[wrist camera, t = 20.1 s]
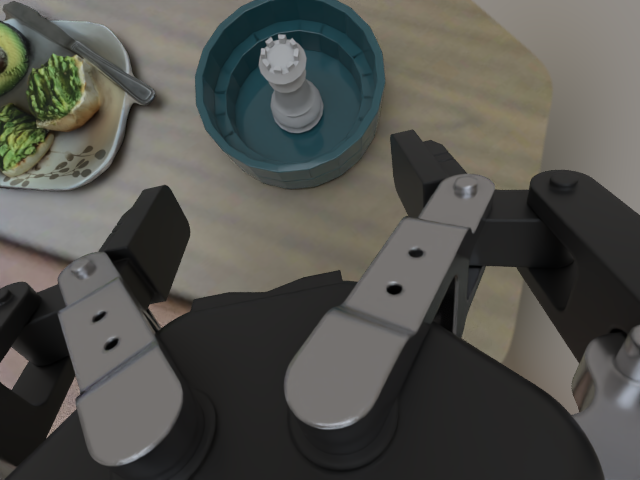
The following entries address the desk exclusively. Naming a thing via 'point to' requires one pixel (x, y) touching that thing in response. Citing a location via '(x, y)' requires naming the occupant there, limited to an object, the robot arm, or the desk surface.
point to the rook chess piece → (290, 85)
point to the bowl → (321, 69)
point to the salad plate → (61, 100)
